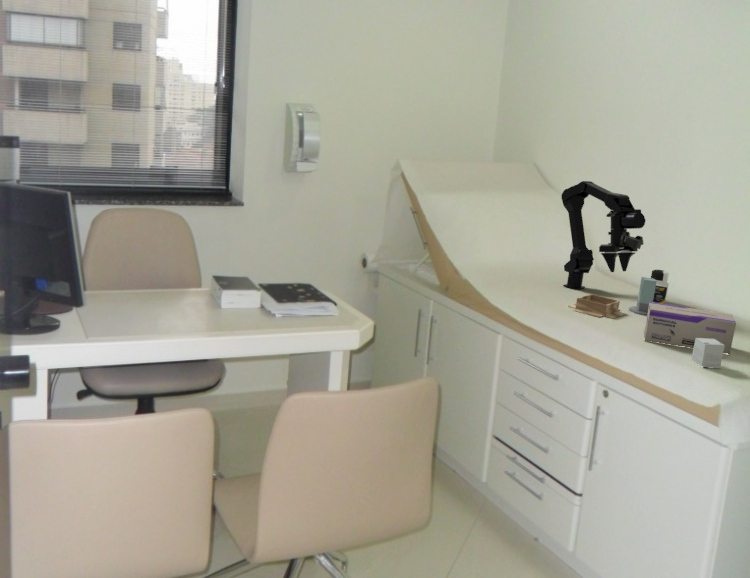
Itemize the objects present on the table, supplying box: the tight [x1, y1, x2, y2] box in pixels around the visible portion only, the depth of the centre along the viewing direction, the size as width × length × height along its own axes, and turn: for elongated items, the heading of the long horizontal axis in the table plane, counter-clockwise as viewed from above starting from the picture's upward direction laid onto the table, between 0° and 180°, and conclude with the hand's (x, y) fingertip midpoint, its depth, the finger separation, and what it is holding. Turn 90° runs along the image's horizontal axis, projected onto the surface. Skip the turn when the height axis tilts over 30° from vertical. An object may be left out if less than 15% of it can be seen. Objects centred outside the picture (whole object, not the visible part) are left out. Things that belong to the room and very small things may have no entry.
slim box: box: [636, 276, 657, 312], centre depth 295 cm, size 4×4×12 cm
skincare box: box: [690, 338, 725, 369], centre depth 240 cm, size 6×6×7 cm
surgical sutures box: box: [643, 302, 737, 355], centre depth 260 cm, size 25×11×11 cm, turn 74°
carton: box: [568, 293, 626, 320], centre depth 291 cm, size 17×17×4 cm
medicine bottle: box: [650, 269, 670, 304], centre depth 313 cm, size 7×7×12 cm
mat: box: [628, 305, 648, 316], centre depth 296 cm, size 10×10×1 cm
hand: (618, 271), depth 303 cm, fingers open, 9 cm apart
